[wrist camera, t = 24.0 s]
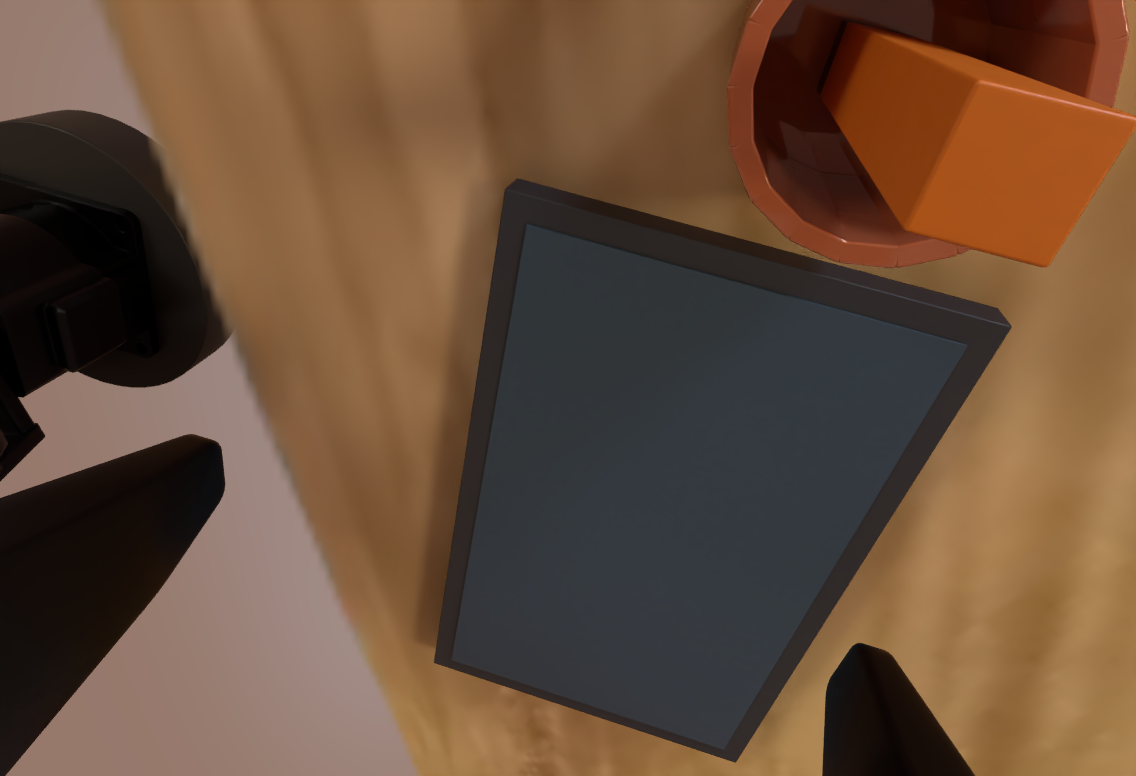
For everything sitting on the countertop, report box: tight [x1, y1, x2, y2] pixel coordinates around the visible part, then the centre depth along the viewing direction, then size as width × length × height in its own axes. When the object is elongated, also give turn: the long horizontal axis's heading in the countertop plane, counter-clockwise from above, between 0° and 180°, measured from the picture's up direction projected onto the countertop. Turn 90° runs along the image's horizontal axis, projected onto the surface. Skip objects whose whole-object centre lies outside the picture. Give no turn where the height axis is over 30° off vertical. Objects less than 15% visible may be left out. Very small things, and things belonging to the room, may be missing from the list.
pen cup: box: [727, 0, 1129, 268], centre depth 14 cm, size 6×6×6 cm
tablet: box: [434, 179, 1011, 762], centre depth 25 cm, size 14×22×1 cm, turn 168°
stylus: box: [817, 20, 1136, 267], centre depth 12 cm, size 2×2×11 cm
